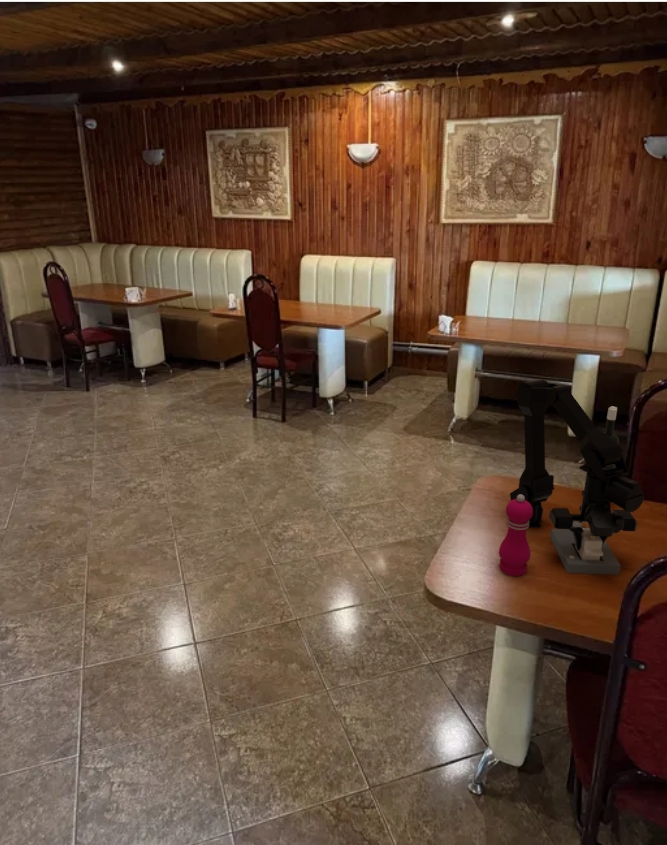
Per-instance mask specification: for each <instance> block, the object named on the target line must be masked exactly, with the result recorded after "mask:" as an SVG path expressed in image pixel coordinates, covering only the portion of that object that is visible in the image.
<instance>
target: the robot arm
mask: <svg viewBox="0 0 667 845" xmlns="http://www.w3.org/2000/svg"><path fill="white" fill-rule="evenodd" d="M515 392H516V401H517V405H518V408H519V409H520V410H521V412H522V414H523V416H524V417H523V419H524V421H523V423H524V464H525V465H524V466H525V468H524V470H523V472H522V473H521V475H520V477H519V481H518V488H516V489H514V490H513V491H511V492H510V493H509V495H510V501H511V500H514V499H517V496H518V495H520V494H521V495H523V496H524V497H525V500H526V501H527V502H529V503H530V504H531V506H532V508H533V515H532V517H531V518H530V519H529V527H531V528H537V527H538V528H540V527H541V526H542V524H541V522H542V520H543V519H542V518H543V512H544V508H543V505H542V503H544V502H547V501H548V500H549V498H550V497H551V496H552V495H553V492H554V491H555V486H554V484H555V483H554V480H555V477H554V475H553V474H550V473H549V472H548V470H547V468H546V448H545V446H546V438H545V437H546V436H545V435H546V434H545V432H546V430H545V424H546V423H545V417H546V416H545V414H546V412H547V410H548V409H549V406H550V405H551V404H552V405H553V407H554V408H555V410H556V412H557V413H558V414H559V415H560V416H561V418H562V419H563V421H564V423H565V424H566V425H567V426H568V428H569V429H570V430H571V432H572V433H573V435H574V436H575V438H576V439H577V441H578V443H579V452H580V455H581V456H582V458H583V460H584V462H585V463H584V464H582V465H580V466H579V469H580V470H581V471H583V472H585V473H586V475H585V482H584V487H583V490H581V496H582V500H581V505H579V511H580V513H571V511H570V510H569V508H568V507H552V509H551V510H550V511H549V516H548V517H549V519H550V521H551V523H552V524H553V527H554V529H569V530H570V531H572V532H573V534H574V538H575V542H576V546H577V549H578V550H580V548H581V537H582V533H583V529H582V524H583V523H585V524H588V526H589V527H588V528H590V532H591V534H592V535H593V536H600V538H601V540H602V541H603V542H602V545H603V543H604V542H605V541H607V539H608V538H609V537H612V536H613V535H614V534H618V533H620V532H621V531H623V532H635V531H636V530H637V526H638V522H637V519H636V518H635V516H634V515H633V514H632V513H635V511H637V510H638V509H639V508H640V507H641V505H642V504H643V502H644V499H645V493H644V491H643V489H642V488H640V486H641V483H640V482H639V481H636V480H633V479H630V478H628V477H626V476H627V475H630V471H629V469H628V465H627V463H626V461H625V459H624V455H623V451H622V449H621V448H622V447H620V444H619V445H618V444H617V443H616V442H615V441H614V440H613V439H612V438H611V437H610V436H609V435H607V434H605V433H603V432H604V431H602V430H600V429H599V428H598V427H596V424H594V422H593V420H591V418H590V417H589V416H588V414H587V412H585V410H584V409H583V408H582V406H581V404H580V403H579V401H577V399H576V398H575V397H574V395H573V394H572V390H571V388H570V387H569V386H567V385H563V384H562V385H560V384H559V383H553V382H548V381H547V380H546V379H543V378H542V379H535V380H530V381H529V380H528V381H524V382H521V383H519V385H517V388H516V391H515ZM613 465H615V468H613V469H610V470H606V469H604V468H605V467H609V466H613ZM611 503H612V504H613V505H615V506H617V507H619V508H621V509H612V510H611V506H612V505H611ZM529 527H528V528H529Z"/></svg>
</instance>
